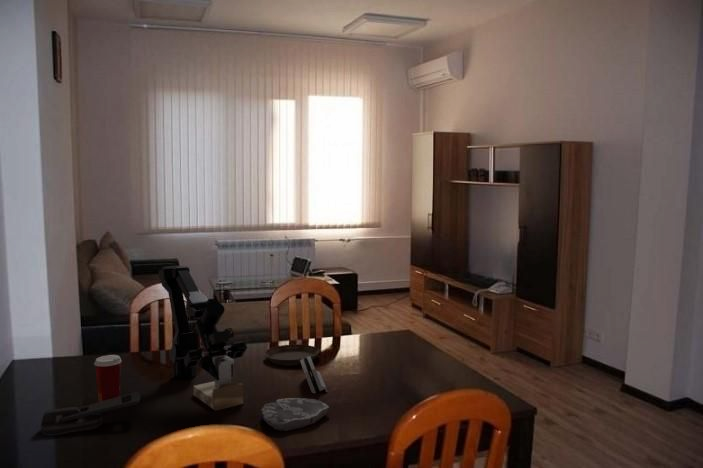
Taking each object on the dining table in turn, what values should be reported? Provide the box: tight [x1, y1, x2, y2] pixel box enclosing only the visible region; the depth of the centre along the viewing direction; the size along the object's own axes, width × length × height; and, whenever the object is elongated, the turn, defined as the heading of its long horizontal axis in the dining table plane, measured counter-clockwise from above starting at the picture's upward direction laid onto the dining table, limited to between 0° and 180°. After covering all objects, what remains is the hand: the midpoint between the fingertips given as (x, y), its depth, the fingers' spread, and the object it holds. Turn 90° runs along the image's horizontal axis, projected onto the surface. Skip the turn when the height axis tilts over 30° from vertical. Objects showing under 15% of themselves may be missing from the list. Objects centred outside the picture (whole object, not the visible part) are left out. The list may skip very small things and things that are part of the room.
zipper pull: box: [40, 391, 141, 436], centre depth 159 cm, size 9×7×25 cm
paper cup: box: [93, 354, 122, 402], centre depth 174 cm, size 8×8×14 cm
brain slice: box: [260, 397, 330, 432], centre depth 163 cm, size 20×17×3 cm
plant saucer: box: [264, 343, 320, 367], centre depth 219 cm, size 21×21×3 cm
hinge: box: [300, 356, 329, 394], centre depth 190 cm, size 17×5×10 cm, turn 11°
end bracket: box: [213, 356, 235, 389], centre depth 173 cm, size 5×4×12 cm
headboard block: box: [193, 380, 244, 411], centre depth 177 cm, size 16×9×6 cm, turn 38°
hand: (225, 378), depth 173 cm, fingers closed on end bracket, 4 cm apart
